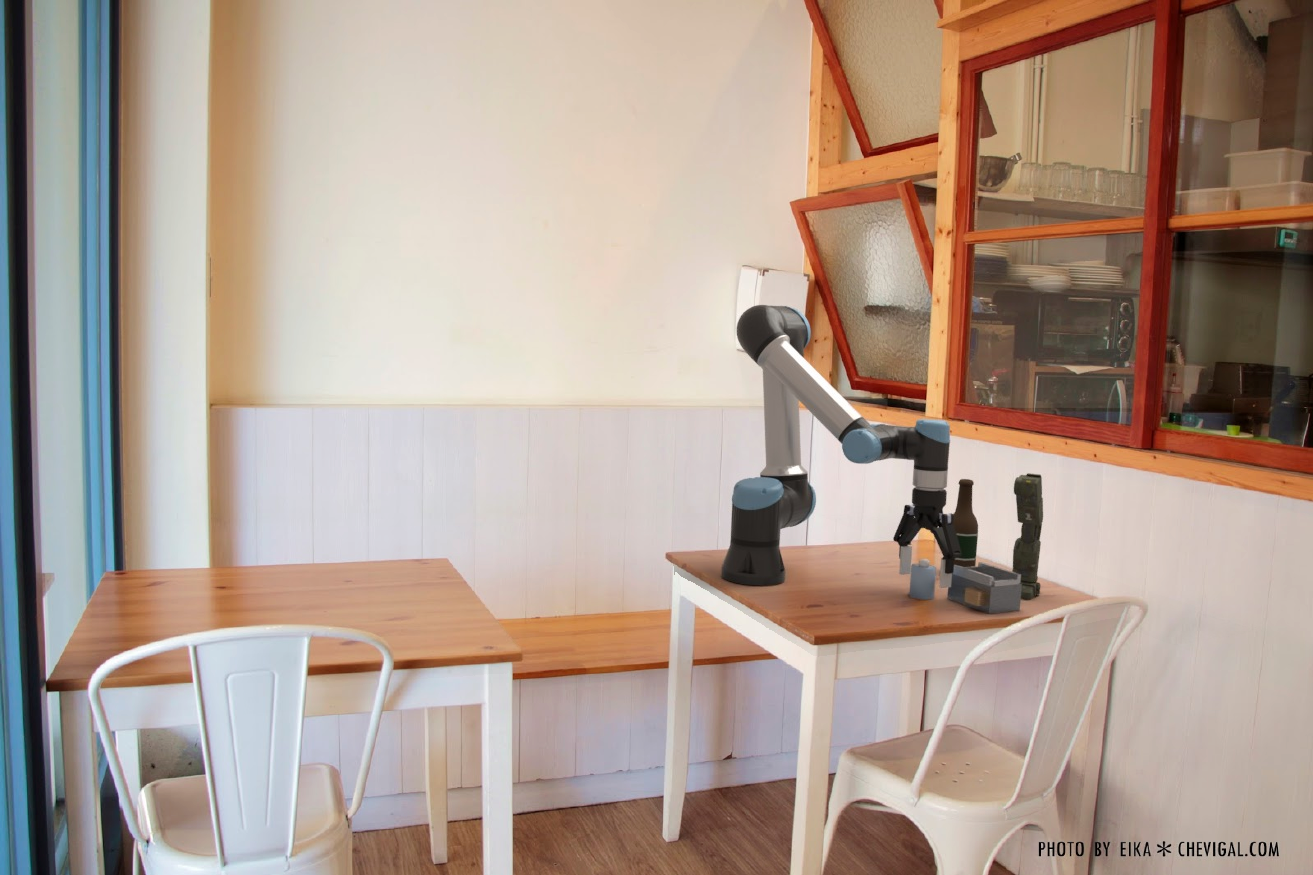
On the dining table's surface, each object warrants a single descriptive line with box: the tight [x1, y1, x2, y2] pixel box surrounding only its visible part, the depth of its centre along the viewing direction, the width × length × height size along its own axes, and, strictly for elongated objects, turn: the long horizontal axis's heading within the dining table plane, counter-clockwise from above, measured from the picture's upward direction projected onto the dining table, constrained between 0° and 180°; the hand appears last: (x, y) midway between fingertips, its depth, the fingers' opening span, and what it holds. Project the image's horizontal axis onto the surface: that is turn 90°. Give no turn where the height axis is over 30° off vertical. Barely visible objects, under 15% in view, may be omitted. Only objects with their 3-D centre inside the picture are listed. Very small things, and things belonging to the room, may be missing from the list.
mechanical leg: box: [1012, 472, 1044, 601], centre depth 245 cm, size 14×7×30 cm, turn 149°
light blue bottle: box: [908, 558, 937, 601], centre depth 240 cm, size 6×6×8 cm
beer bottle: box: [948, 478, 979, 567], centre depth 262 cm, size 8×8×24 cm
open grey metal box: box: [946, 561, 1022, 615], centre depth 236 cm, size 15×11×8 cm
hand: (924, 580), depth 240 cm, fingers open, 13 cm apart
